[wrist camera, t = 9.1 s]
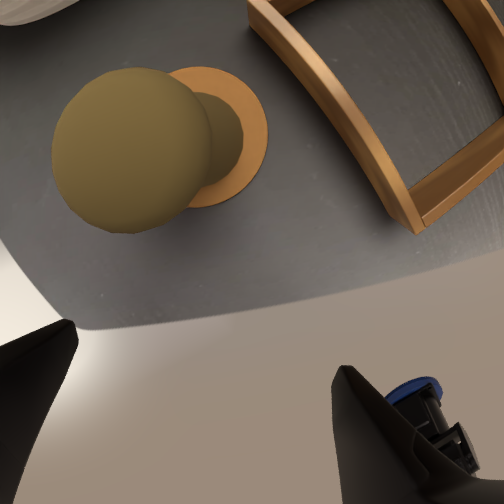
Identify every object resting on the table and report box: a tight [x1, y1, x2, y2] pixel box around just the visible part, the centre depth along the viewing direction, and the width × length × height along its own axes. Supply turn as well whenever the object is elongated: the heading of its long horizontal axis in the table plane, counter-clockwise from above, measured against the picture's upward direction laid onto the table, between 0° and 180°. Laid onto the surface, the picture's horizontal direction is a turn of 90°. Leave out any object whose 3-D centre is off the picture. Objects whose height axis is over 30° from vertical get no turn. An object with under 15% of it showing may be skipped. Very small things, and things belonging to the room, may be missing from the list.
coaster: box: [169, 67, 268, 208], centre depth 17 cm, size 9×9×1 cm
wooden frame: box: [247, 0, 504, 235], centre depth 12 cm, size 16×16×4 cm
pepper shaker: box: [51, 67, 244, 234], centre depth 11 cm, size 6×6×11 cm
